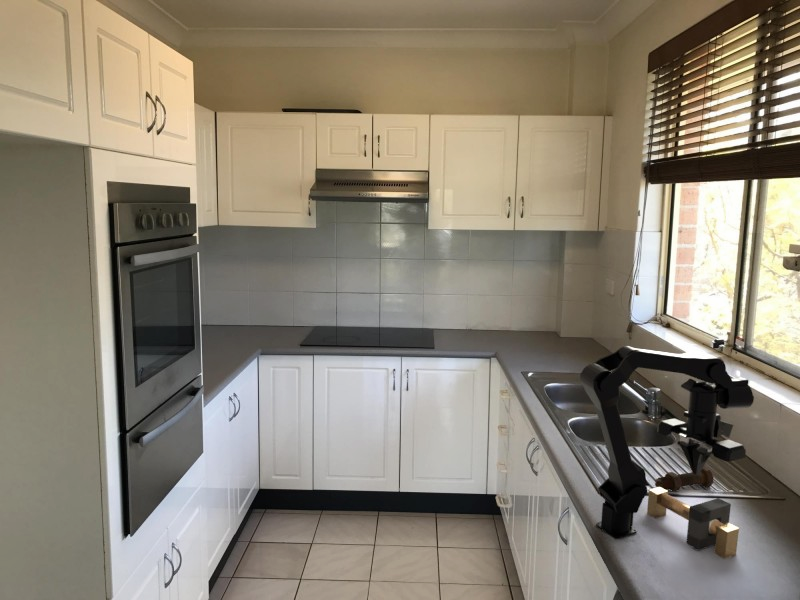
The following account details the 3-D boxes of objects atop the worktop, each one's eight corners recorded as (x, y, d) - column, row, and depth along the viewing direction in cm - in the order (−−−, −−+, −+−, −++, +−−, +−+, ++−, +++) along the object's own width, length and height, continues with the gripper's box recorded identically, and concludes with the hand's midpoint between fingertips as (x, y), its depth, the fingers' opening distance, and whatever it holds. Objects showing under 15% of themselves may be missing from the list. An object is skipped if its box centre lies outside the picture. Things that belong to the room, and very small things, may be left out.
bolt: (655, 496, 158) (703, 488, 161) (667, 495, 153) (716, 487, 157) (648, 473, 160) (696, 466, 163) (660, 471, 155) (709, 464, 159)
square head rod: (735, 554, 128) (739, 527, 127) (724, 558, 127) (727, 531, 126) (657, 510, 146) (659, 486, 145) (646, 513, 145) (649, 489, 144)
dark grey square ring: (726, 540, 133) (730, 504, 132) (698, 550, 129) (702, 513, 128) (714, 533, 136) (718, 498, 135) (686, 543, 132) (689, 506, 131)
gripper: (765, 417, 131) (757, 484, 133) (691, 392, 148) (685, 452, 150) (731, 424, 126) (724, 494, 129) (658, 398, 143) (653, 460, 145)
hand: (696, 474), depth 138 cm, fingers closed
